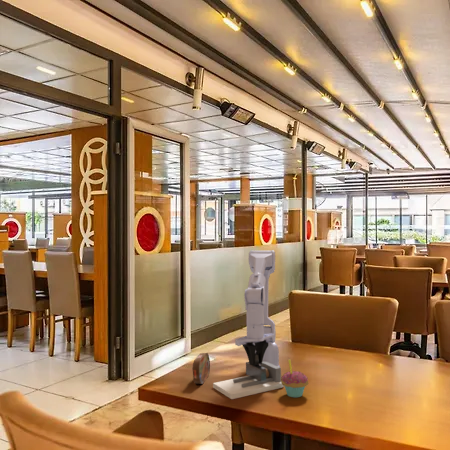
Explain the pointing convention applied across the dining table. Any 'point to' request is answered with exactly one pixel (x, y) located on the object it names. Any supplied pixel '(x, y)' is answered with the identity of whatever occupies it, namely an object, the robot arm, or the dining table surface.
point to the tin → (201, 368)
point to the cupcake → (294, 382)
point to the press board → (250, 383)
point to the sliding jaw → (256, 369)
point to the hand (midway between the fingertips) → (255, 364)
